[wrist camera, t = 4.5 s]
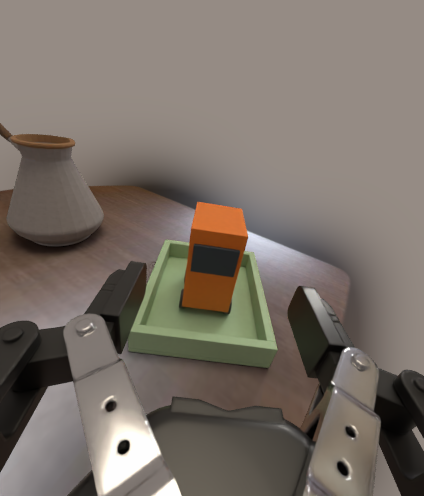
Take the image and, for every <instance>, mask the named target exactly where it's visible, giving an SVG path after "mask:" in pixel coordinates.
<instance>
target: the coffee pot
mask: <svg viewBox="0 0 424 496" xmlns="http://www.w3.org/2000/svg"><path fill="white" fill-rule="evenodd" d="M0 135H1V136H3V137H4V138H5V139H6V140H8V141H9V142H11V143H12V144H13V145H14V146H15V147H16V148H17V149H18V150H19V151H20V152H21V154H22V159H21V163H20V167H19V171H18V175H17V179H16V183H15V187H14V191H13V194H12V198H11V202H10V206H9V210H8V214H7V223H8V225H9V227H10V228H11V229H12V230H13V231H15V232H16V233H17V234H18V235H19V236H21V237H24V238H26V239H28V240H31V241H34V242H35V243H37V244H40V245H45V246H66V245H71V244H75V243H78V242H81V241H83V240H85V239H87V238H88V237H89V236H90V235H91V234H92V233H93V232H94V231H96V230H97V229H98V228H99V226H100V224H101V222H102V220H103V217H104V215H103V211H102V209H101V207H100V206H99V204H98V202H97V201H96V199H95V197H94V195H93V194H92V192H91V190H90V189H89V187H88V185H87V184H86V182H85V180H84V179H83V177H82V175H81V174H80V172H79V171H78V169H77V167H76V166H75V164H74V162H73V160H72V159H71V151H72V147H73V146H75V142H74V140H73V139H70V138H64V137H58V136H51V135H38V134H21V135H14V136H12V135H11V134H10V133H9V132H8V131H7V130H6V129H5V128H4V127H3V126H2V125H1V123H0Z"/></svg>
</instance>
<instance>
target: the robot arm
mask: <svg viewBox="0 0 424 496" xmlns="http://www.w3.org/2000/svg"><path fill="white" fill-rule="evenodd" d="M146 269H147V266H146V263H141V262H134V261H131V262H130V263H129V265H128V266H127V268H126V270H119V269H118V270H117V271H115V272H114V273H112V274H111V275H110V276H109V277H108V279H107V280H106V282H105V284H104V285H103V286H102V288H101V290H100V291H99V293H98V294H97V296H96V297H95V299H94V300H93V302H92V303H91V305H90V306H89V308H88V309H87V311H86V312H85V313H84V314H83V315H80V316H77V317H75V318H74V319H72V320H71V321H70V322H68V324H67V325H66V326H63V327H56V328H49V329H41V330H39V329H38V327H37V325H36V324H35V323H33V322H31V321H17V322H13V323H10V324H7V325H5V326H3V327H1V328H0V472H1V470H2V469H3V467H4V465H5V463H6V461H7V460H8V458H9V456H10V454H11V452H12V451H13V449H14V447H15V445H16V443H17V442H18V440H19V438H20V436H21V434H22V433H23V431H24V429H25V427H26V425H27V424H28V422H29V420H30V418H31V416H32V415H33V413H34V411H35V409H36V407H37V406H38V404H39V402H40V400H41V398H42V397H43V395H44V393H45V391H46V389H47V388H48V386H52V385H57V384H62V383H67V382H72V381H73V383H74V388H75V392H76V397H77V401H78V406H79V411H80V415H81V420H82V424H83V429H84V434H85V438H86V443H87V448H88V452H89V457H90V461H91V466H92V470H91V471H90V472H89V473H88V474H87V475H86V476H85V477H84V478H83V479H82V480H81V481H80V482H79V484H78V485H77V486H76V487H75V488H74V489H73V490H72V491H71V492H70V493H69V494H68V495H67V496H373V488H374V480H375V471H376V462H377V452H378V443H379V445H380V447H381V450H382V452H383V454H384V456H385V459H386V461H387V464H388V466H389V468H390V470H391V473H392V475H393V477H394V480H395V482H396V484H397V487H398V489H399V491H400V493H401V496H424V451H423V449H422V448H421V446H420V444H419V442H418V440H417V438H416V437H415V435H414V433H413V431H412V429H413V428H414V427H416V426H417V428H418V429H419V431H420V433H421V434H422V436H423V438H424V376H423V375H421V374H419V373H417V372H415V371H412V370H404V371H402V372H401V373H400V374H399V375H398V376H397V375H394V374H392V373H389V372H387V371H384V370H382V369H379V368H378V367H377V365H376V363H375V362H374V361H373V360H372V359H371V358H370V357H369V356H368V355H367V354H366V353H364V352H362V351H361V350H359V349H356V348H355V347H354V345H353V344H352V342H351V340H350V338H349V337H348V335H347V333H346V332H345V330H344V328H343V326H342V325H341V323H340V321H339V319H338V318H337V317H336V314H335V312H334V311H333V309H332V307H331V306H330V305H329V304H328V303H327V302H326V301H325V300H324V299H321V298H320V297H319V295H318V293H317V291H316V289H315V288H311V287H304V286H299V287H298V288H297V289H296V292H295V294H294V296H293V298H292V300H291V303H290V305H289V307H288V319H289V322H290V325H291V328H292V331H293V334H294V337H295V340H296V343H297V346H298V349H299V352H300V355H301V358H302V361H303V364H304V367H305V370H306V373H307V376H308V377H309V378H318V380H319V385H318V386H317V388H316V391H315V393H314V396H313V398H312V401H311V404H310V406H309V409H308V411H307V414H306V416H305V419H304V421H303V423H302V425H301V427H300V428H298V427H297V426H295V425H294V424H293V423H291V422H289V421H287V420H285V419H284V418H283V414H282V409H279V408H270V407H261V406H252V407H247V408H242V409H236V410H231V411H227V410H224V409H222V408H219V407H217V406H214V405H212V404H209V403H207V402H205V401H202V400H199V399H190V398H181V397H172V403H171V405H170V406H165V407H162V408H159V409H157V410H154V411H152V412H151V413H149V414H147V415H146V414H145V412H144V409H143V407H142V404H141V402H140V399H139V397H138V394H137V392H136V390H135V387H134V385H133V382H132V380H131V377H130V375H129V372H128V370H127V367H126V365H125V363H124V361H123V360H122V359H120V358H119V356H118V354H122V351H123V349H124V346H125V344H126V341H127V339H128V336H129V334H130V331H131V329H132V326H133V324H134V321H135V319H136V316H137V314H138V311H139V309H140V306H141V304H142V301H143V299H144V296H145V292H146ZM117 353H118V354H117Z"/></svg>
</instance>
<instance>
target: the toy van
mask: <svg viewBox="0 0 424 496" xmlns="http://www.w3.org/2000/svg"><path fill="white" fill-rule="evenodd" d="M247 239H248V234H247V230H246V225H245V221H244V217H243V212H242V209H239V208H233V207H226V206H220V205H214V204H208V203H202V202H197V206H196V210H195V215H194V219H193V223H192V227H191V234H190V243H189V251H188V259H187V267H186V271H185V277H184V283H185V284H184V289H182V290H181V295H180V301H179V308H186V307H190V308H197V309H205V310H212V311H220V312H223V314H230V312H231V307H232V295H233V292H234V288H235V284H236V280H237V277H238V273H239V269H240V266H241V262H242V258H243V254H244V251H245V247H246V243H247Z"/></svg>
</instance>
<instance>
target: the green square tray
mask: <svg viewBox="0 0 424 496" xmlns="http://www.w3.org/2000/svg"><path fill="white" fill-rule="evenodd" d="M188 251H189V243H186V242H180V241H173V240H165V242H164V244H163V247H162V249H161V252H160V254H159V256H158V259H157V261H156V264H155V266H154V269H153V271H152V273H151V276H150V278H149V281H148V283H147V285H146V292H145V296H144V299H143V301H142V304H141V306H140V309H139V311H138V314H137V316H136V319H135V321H134V324H133V326H132V329H131V331H130V334H129V336H128V347H129V348H128V350H129V351H131V352H139V353H147V354H156V355H164V356H172V357H181V358H189V359H197V360H206V361H214V362H222V363H230V364H239V365H247V366H255V367H264V368H269V367H270V365H271V362H272V360H273V358H274V356H275V354H276V352H277V345H276V341H275V337H274V333H273V329H272V324H271V320H270V316H269V312H268V308H267V304H266V300H265V296H264V292H263V287H262V283H261V279H260V275H259V271H258V267H257V263H256V259H255V255H254V252H247V251H244V254H243V258H242V262H241V266H240V269H239V273H238V277H237V280H236V284H235V288H234V292H233V295H232V307H231V312H230V314H223V312H220V311H212V310H205V309H197V308H190V307H186V308H179V301H180V295H181V290H182V289H184V284H185V283H184V277H185V271H186V267H187V259H188Z"/></svg>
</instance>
